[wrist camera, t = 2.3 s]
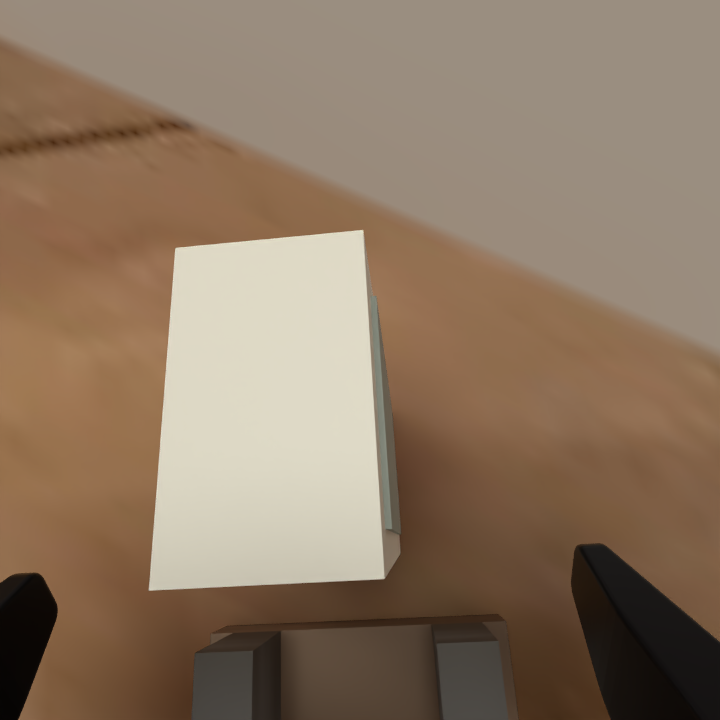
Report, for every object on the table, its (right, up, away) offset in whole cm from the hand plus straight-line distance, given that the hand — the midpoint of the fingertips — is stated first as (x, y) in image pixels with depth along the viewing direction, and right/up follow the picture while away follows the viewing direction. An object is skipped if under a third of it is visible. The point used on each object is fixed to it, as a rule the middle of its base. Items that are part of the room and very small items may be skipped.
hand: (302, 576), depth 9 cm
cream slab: (+1, -1, +10) cm, 10 cm away
